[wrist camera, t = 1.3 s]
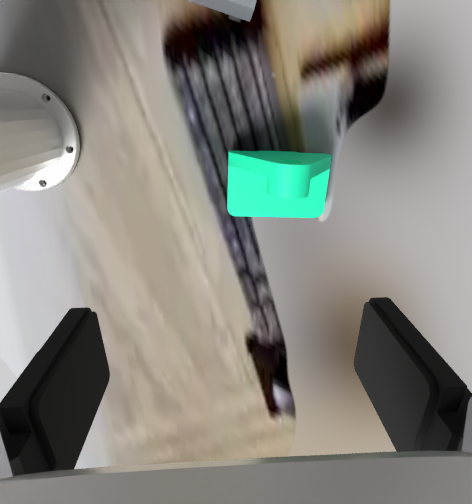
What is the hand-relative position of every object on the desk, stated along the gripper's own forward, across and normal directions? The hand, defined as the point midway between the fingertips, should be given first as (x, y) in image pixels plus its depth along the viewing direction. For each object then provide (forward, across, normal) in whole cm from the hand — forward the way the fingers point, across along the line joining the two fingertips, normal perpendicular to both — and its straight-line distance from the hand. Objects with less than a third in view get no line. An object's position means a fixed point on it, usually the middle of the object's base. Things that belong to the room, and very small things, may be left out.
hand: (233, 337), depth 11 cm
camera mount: (+32, -7, +2) cm, 33 cm away
